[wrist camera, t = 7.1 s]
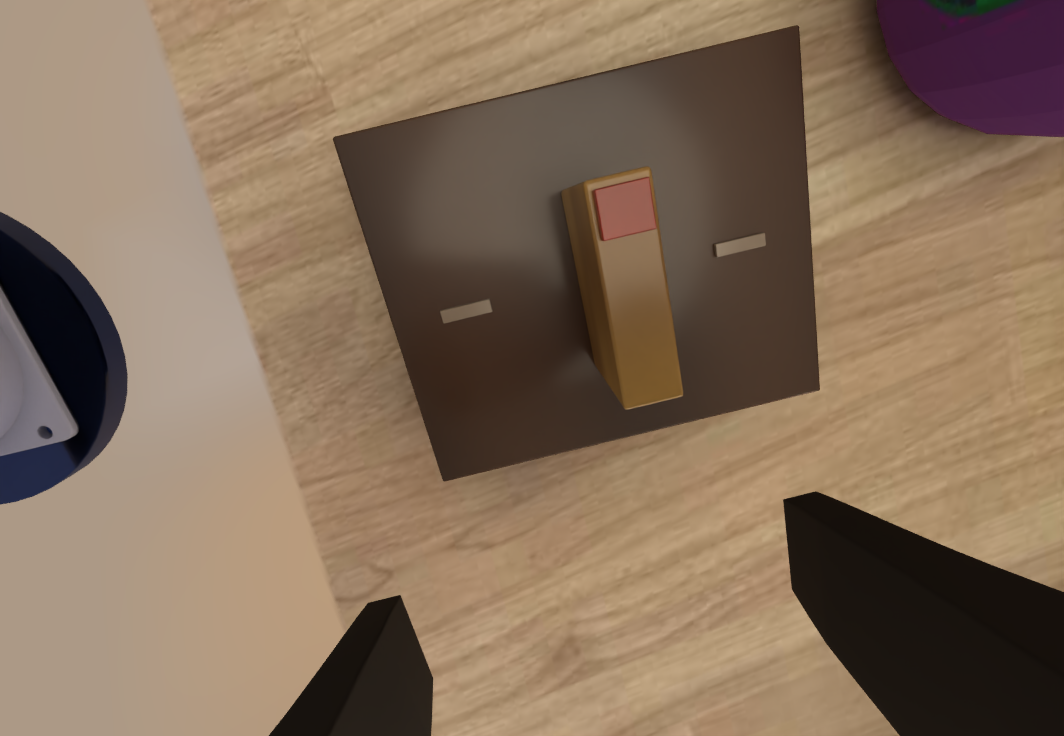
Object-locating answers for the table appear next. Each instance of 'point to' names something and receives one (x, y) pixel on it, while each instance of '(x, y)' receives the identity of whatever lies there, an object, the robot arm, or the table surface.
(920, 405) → the table surface
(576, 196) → the block with red patch
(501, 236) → the lock plate
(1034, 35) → the mug
